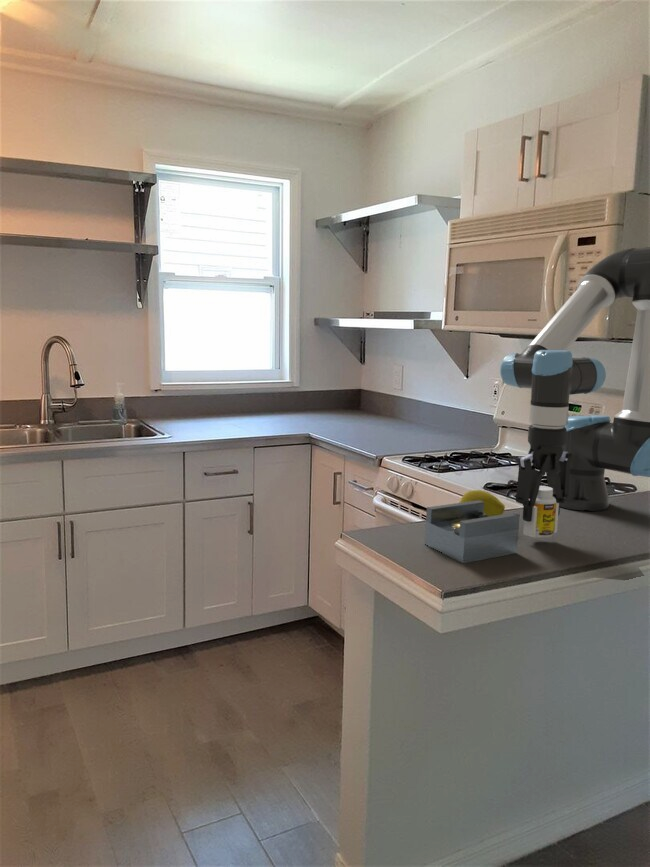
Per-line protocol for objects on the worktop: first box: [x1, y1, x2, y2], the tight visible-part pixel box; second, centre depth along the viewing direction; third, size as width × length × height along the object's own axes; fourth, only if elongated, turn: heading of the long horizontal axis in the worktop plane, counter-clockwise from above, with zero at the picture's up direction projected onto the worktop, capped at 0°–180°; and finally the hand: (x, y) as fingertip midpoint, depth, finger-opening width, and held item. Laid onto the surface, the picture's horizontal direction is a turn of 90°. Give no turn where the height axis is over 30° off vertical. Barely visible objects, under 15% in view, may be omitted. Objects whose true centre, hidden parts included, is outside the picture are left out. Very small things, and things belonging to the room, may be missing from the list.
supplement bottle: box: [529, 485, 556, 539], centre depth 143 cm, size 6×6×10 cm
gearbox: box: [424, 500, 521, 564], centre depth 138 cm, size 14×12×8 cm
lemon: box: [458, 489, 506, 517], centre depth 154 cm, size 11×8×8 cm
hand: (540, 532), depth 143 cm, fingers closed on supplement bottle, 6 cm apart
